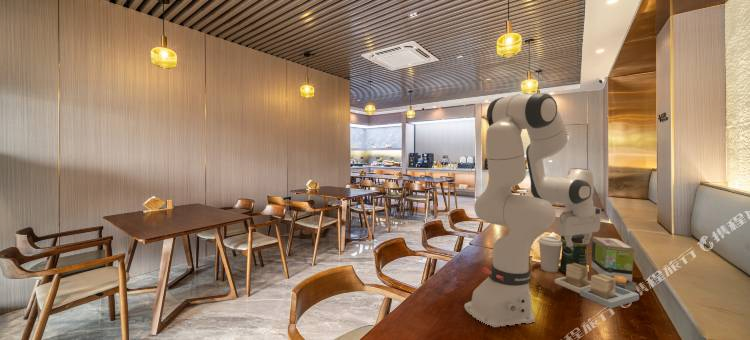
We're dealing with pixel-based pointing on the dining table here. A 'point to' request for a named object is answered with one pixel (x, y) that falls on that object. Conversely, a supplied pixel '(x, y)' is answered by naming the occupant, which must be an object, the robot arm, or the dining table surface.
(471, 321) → the dining table surface
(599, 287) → the seated block
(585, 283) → the block
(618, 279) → the button
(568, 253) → the coffee jar
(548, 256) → the coffee cup
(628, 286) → the dark grey square housing
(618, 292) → the grey hollow frame
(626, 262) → the tea box
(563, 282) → the tray
